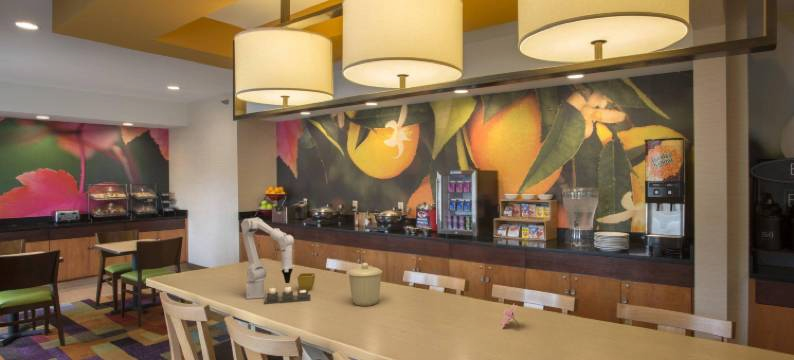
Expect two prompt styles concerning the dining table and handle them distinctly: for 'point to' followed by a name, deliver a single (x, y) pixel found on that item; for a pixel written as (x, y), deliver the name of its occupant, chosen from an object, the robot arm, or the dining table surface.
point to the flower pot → (306, 281)
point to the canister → (365, 284)
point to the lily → (508, 315)
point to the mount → (287, 298)
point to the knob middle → (287, 290)
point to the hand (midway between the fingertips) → (287, 282)
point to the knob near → (272, 291)
